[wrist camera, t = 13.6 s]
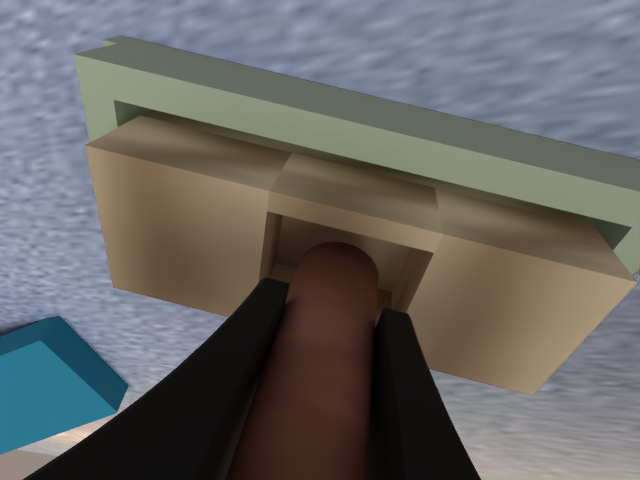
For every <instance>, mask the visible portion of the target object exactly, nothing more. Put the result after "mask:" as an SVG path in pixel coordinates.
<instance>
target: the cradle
mask: <svg viewBox="0 0 640 480" xmlns="http://www.w3.org/2000/svg"><path fill="white" fill-rule="evenodd" d="M102 41H103V47H101V48H97V49H93V50H88V51H84V52H80V53H76V54H73V55H74V60H75V65H76V71H77V76H78V81H79V87H80V92H81V97H82V103H83V108H84V113H85V119H86V124H87V129H88V135H89V140H90V142H92V141H94V140H96V139H98V138H99V137H101V136H103V135H105V134H107V133H109V132H110V131H112V130H114V129H116V128H118V127H120V126H121V125H123V124H125V123H127V122H129V121H131V120H133V119H134V118H136V117H138V116H140V115H142V114H144V113H145V112H147V111H149V110H151V109H153V110H157V111H161V112H165V113H169V114H174V115H178V116H182V117H186V118H190V119H194V120H198V121H202V122H206V123H210V124H214V125H218V126H222V127H226V128H231V129H235V130H239V131H243V132H247V133H251V134H255V135H259V136H263V137H267V138H271V139H275V140H279V141H283V142H287V143H292V144H296V145H300V146H304V147H308V148H312V149H316V150H320V151H324V152H328V153H332V154H336V155H340V156H344V157H349V158H353V159H357V160H361V161H365V162H369V163H373V164H377V165H381V166H385V167H389V168H393V169H397V170H401V171H405V172H410V173H414V174H418V175H422V176H426V177H430V178H434V179H438V180H442V181H446V182H450V183H454V184H458V185H462V186H466V187H471V188H475V189H479V190H483V191H487V192H491V193H495V194H499V195H503V196H507V197H511V198H515V199H519V200H523V201H528V202H532V203H536V204H540V205H544V206H548V207H552V208H556V209H560V210H564V211H568V212H572V213H576V214H580V215H584V216H586V217H587V218H588V219H589V221H590V222H591V223H592V224H593V226H594V227H595V228H596V230H597V231H598V232H599V233H600V235H601V236H602V237H603V239H604V240H605V241H606V242H607V244H608V245H609V246H610V247H611V249H612V250H613V251H614V253H615V254H616V255H617V256H618V258H619V259H620V260H621V262H622V263H623V264H624V265H625V267H626V268H627V269H628V271H629V272H630V273H631V274H632V275H633V274H634V273H635V272H636V271H637V270H638V269H639V268H640V161H639V160H635V159H631V158H627V157H623V156H619V155H615V154H610V153H606V152H602V151H598V150H594V149H590V148H585V147H581V146H577V145H573V144H569V143H565V142H561V141H556V140H552V139H548V138H544V137H540V136H536V135H531V134H527V133H523V132H519V131H515V130H511V129H507V128H502V127H498V126H494V125H490V124H486V123H482V122H477V121H473V120H469V119H465V118H461V117H457V116H453V115H448V114H444V113H440V112H436V111H432V110H428V109H423V108H419V107H415V106H411V105H407V104H403V103H399V102H394V101H390V100H386V99H382V98H378V97H374V96H369V95H365V94H361V93H357V92H353V91H349V90H345V89H340V88H336V87H332V86H328V85H324V84H320V83H315V82H311V81H307V80H303V79H299V78H295V77H291V76H286V75H282V74H278V73H274V72H270V71H266V70H261V69H257V68H253V67H249V66H245V65H241V64H237V63H232V62H228V61H224V60H220V59H216V58H212V57H207V56H203V55H199V54H195V53H191V52H187V51H183V50H178V49H174V48H170V47H166V46H162V45H158V44H153V43H149V42H145V41H141V40H137V39H133V38H129V37H124V36H117V37H113V38H108V39H104V40H102Z"/></svg>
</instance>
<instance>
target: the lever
mask: <svg viewBox="0 0 640 480" xmlns="http://www.w3.org/2000/svg"><path fill="white" fill-rule="evenodd" d="M127 388H128V385H127V383H126V382H125V381H124V380H123V379H122V378H121V377H120V376H119V375H118V374H117V373H116V372H115V371H114V370H113V369H112V368H111V367H110V366H109V365H108V364H107V363H106V362H105V361H104V360H103V359H102V358H101V357H100V356H99V355H98V354H97V353H96V352H95V351H94V350H93V349H92V348H91V347H90V346H89V345H88V344H87V343H86V342H85V341H84V340H83V339H82V338H81V337H80V336H79V335H78V334H77V333H76V332H75V331H74V330H73V329H72V328H71V327H70V326H69V325H68V324H67V323H66V322H65V321H64V320H63V319H62V318H61V317H60V316H56V317H51V318H47V319H43V320H41V321H38V322H36V323H33V324H31V325H28V326H26V327H23V328H21V329H18V330H16V331H13V332H11V333H8V334H5V335H3V336H0V454H3V453H6V452H8V451H12V450H14V449H17V448H20V447H23V446H26V445H28V444H31V443H34V442H37V441H40V440H42V439H45V438H48V437H51V436H54V435H56V434H59V433H62V432H65V431H68V430H70V429H73V428H76V427H79V426H82V425H84V424H87V423H90V422H93V421H96V420H98V419H101V418H104V417H107V416H110V415H112V414H115V413H117V411H118V409H119V407H120V404H121V402H122V400H123V397H124V395H125V393H126V390H127Z"/></svg>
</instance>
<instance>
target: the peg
mask: <svg viewBox="0 0 640 480" xmlns="http://www.w3.org/2000/svg"><path fill="white" fill-rule="evenodd" d="M378 277H379V276H378V270H377V267H376V264H375V263H374V261H373V260H372V258H371V257H370V256H369V255H368V254H367V253H366V252H364V251H363V250H361V249H360V248H358V247H356V246H353V245H351V244H347V243H343V242H325V243H321V244H318V245H315V246H313V247H312V248H310V249H309V250H307V251H306V252H305V253H304V254H303V256H302V257H301V259H300V261H299V264H298V267H297V270H296V273H295V276H294V279H293V282H292V285H291V288H290V291H289V294H288V297H287V300H286V304H285V307H284V310H283V313H282V316H281V319H280V322H279V325H278V328H277V331H276V334H275V336H274V339H273V342H272V344H271V347H270V350H269V352H268V355H267V358H266V361H265V364H264V367H263V370H262V373H261V376H260V379H259V382H258V385H257V388H256V391H255V394H254V396H253V399H252V402H251V405H250V408H249V411H248V414H247V417H246V420H245V423H244V426H243V429H242V432H241V435H240V438H239V441H238V443H237V446H236V449H235V452H234V455H233V458H232V461H231V464H230V467H229V470H228V473H227V476H226V479H225V480H366V474H367V457H368V441H369V425H370V408H371V392H372V375H373V359H374V343H375V326H376V310H377V293H378Z"/></svg>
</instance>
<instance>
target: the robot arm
mask: <svg viewBox="0 0 640 480" xmlns="http://www.w3.org/2000/svg"><path fill="white" fill-rule="evenodd" d="M288 288H289V283H286V282H282V281H278V280H274V279H271V278H267V277H265V278H263V279H261V280H260V281H259V283H258V284H257V286H256V287H255V288H254V289H253V291H252V292H251V293H250V294H249V296H248V297H247V298H246V299H245V300H244V301H243V303H242V304H241V305H240V306H239V307H238V308H237V309H236V310H235V311H234V313H233V314H232V315H231V316H230V317H229V318H228V319H227V320H226V321H225V322H224V323H223V324H222V325H221V326H220V327H219V328H218V329H217V330H216V331H215V332H214V333H213V334H212V335H211V336H210V337H209V338H208V339H207V340H206V341H205V342H204V343H203V344H202V345H201V346H200V347H199V348H198V349H196V350H195V351H194V352H193V353H192V354H191V355H190V356H189V357H188V358H187V359H186V360H184V361H183V362H182V363H181V364H180V365H179V366H178V367H177V368H176V369H174V370H173V371H172V372H171V373H170V374H169V375H167V376H166V377H165V378H164V379H163V380H161V381H160V382H159V383H158V384H157V385H155V386H154V387H153V388H152V389H150V390H149V391H148V392H147V393H145V394H144V395H143V396H142V397H140V398H139V399H138V400H137V401H135V402H134V403H133V404H131V405H130V406H129V407H127V408H126V409H125V410H123V411H122V412H121V413H119V414H118V415H117V416H115V417H114V418H113V419H111V420H110V421H108V422H107V423H106V424H104V425H103V426H102V427H100V428H99V429H98V430H96V431H95V432H93V433H92V434H91V435H89V436H88V437H86V438H85V439H83V440H82V441H81V442H79V443H78V444H76V445H75V446H73V447H72V448H70V449H69V450H67V451H66V452H64V453H63V454H61V455H60V456H58V457H57V458H55V459H53V460H52V461H50V462H49V463H47V464H46V465H44V466H43V467H41V468H40V469H38V470H37V471H35V472H34V473H32V474H31V475H29V476H27V477H26V478H24V479H23V480H225V479H226V476H227V473H228V470H229V467H230V464H231V461H232V458H233V455H234V452H235V449H236V446H237V443H238V441H239V438H240V435H241V432H242V429H243V426H244V423H245V420H246V417H247V414H248V411H249V408H250V405H251V402H252V399H253V396H254V394H255V391H256V388H257V385H258V382H259V379H260V376H261V373H262V370H263V367H264V364H265V361H266V358H267V355H268V352H269V350H270V347H271V344H272V342H273V339H274V336H275V334H276V331H277V328H278V325H279V322H280V319H281V316H282V313H283V310H284V307H285V304H286V299H287V293H288ZM366 480H481V479H480V477H479V475H478V473H477V471H476V469H475V467H474V465H473V464H472V462H471V460H470V458H469V456H468V454H467V452H466V450H465V448H464V446H463V444H462V442H461V440H460V438H459V436H458V434H457V432H456V429H455V427H454V425H453V423H452V421H451V419H450V417H449V415H448V412H447V410H446V408H445V406H444V403H443V401H442V399H441V396H440V394H439V392H438V389H437V387H436V385H435V382H434V380H433V378H432V375H431V373H430V370H429V368H428V365H427V363H426V360H425V357H424V355H423V352H422V349H421V347H420V344H419V341H418V338H417V335H416V332H415V329H414V326H413V323H412V320H411V318H410V316H409V314H408V313H404V312H400V311H396V310H392V309H388V308H383V310H382V313H381V315H380V318H379V320H378V323H377V325H376V327H375V343H374V359H373V375H372V392H371V408H370V425H369V441H368V457H367V474H366Z"/></svg>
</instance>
